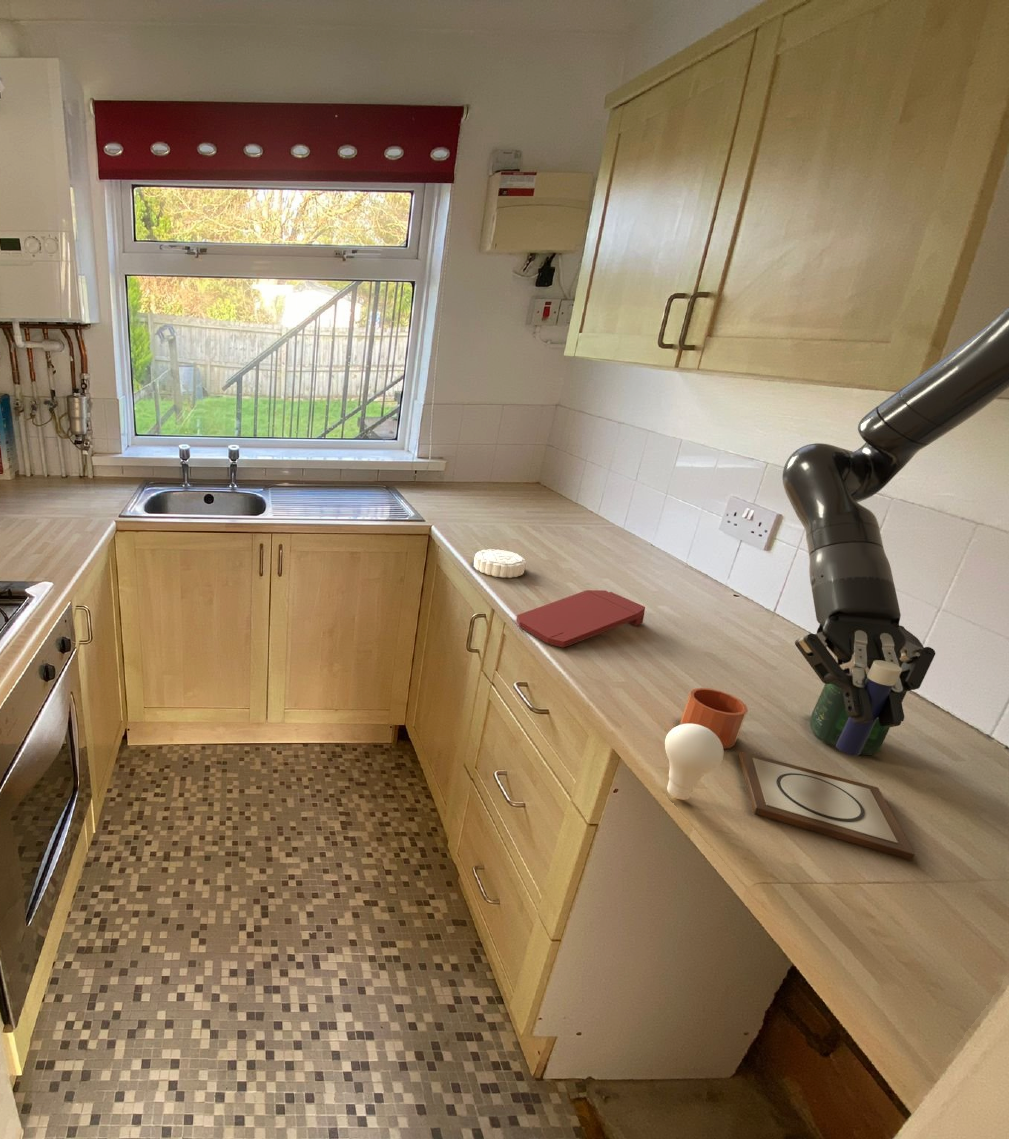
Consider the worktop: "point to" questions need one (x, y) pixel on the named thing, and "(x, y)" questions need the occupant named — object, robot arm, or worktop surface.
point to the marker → (878, 691)
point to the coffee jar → (833, 715)
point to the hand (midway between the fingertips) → (876, 723)
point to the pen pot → (715, 713)
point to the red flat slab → (580, 617)
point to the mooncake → (499, 563)
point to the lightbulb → (690, 757)
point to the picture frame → (823, 804)
